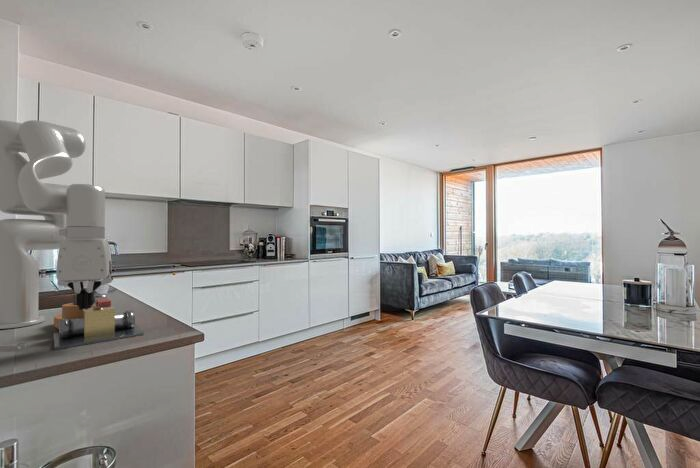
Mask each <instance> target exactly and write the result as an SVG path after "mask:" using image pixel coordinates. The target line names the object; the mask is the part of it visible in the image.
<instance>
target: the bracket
mask: <svg viewBox="0 0 700 468" xmlns="http://www.w3.org/2000/svg"><path fill="white" fill-rule="evenodd" d="M91 307H93V305H91ZM64 318H69V319H77V318H83V309H82V310H79V306H77V304H75V305H74V302H70V303H65V304H62V305H61V313H59V314H57V315H53V327H54V328H56V329H58V330H59V321H60V319H64Z"/></svg>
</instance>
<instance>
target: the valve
mask: <svg viewBox="0 0 700 468" xmlns="http://www.w3.org/2000/svg"><path fill="white" fill-rule="evenodd" d="M144 332H145V331H143V330H142V329H141V328H140V327H139V326H138V325H137V324H136V315H135V312H134V310H133V309H129V310H125V311H124V312H117V313H116V308H115V307H114V306H113V305H112V304H111V307H105V308H97V306H96V303H95V302H94V304H93V307H91V308H89V309H83V318H77V319H69V318H64V319H60V321H59V329H58V332H53V344H54V345H53V347H54V351H55V350H56V351H57V350H62V349H67V348H73V347H80V346H85V345H92V344H97V343H98V344H99V343H104V342H108V341H114V340H119V339H120V340H121V339H127V338H133V337H138V336H139V337H140V336H144V335H145V334H144Z"/></svg>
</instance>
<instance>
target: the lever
mask: <svg viewBox="0 0 700 468" xmlns="http://www.w3.org/2000/svg"><path fill="white" fill-rule="evenodd" d="M94 302H95V303H96V306H97V308H105V307H111V305H112V300H111V299H110V298H109V297H108V294H107V293H97V294H94Z"/></svg>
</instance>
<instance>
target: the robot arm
mask: <svg viewBox="0 0 700 468" xmlns="http://www.w3.org/2000/svg"><path fill="white" fill-rule="evenodd" d="M86 148H87V147H86V140H85V137H84V136H83V135H82V133H81V132H79V131H78V130H76V129H74V128H73V127H72V128H71V127H67V126H64V125H59V124H56V123H52V122H47V121H43V120H37V119H36V120H33V119H32V120H31V119H30V120H27V121H24V122H23V123H21V122H17V121H11V120H2V119H1V120H0V211H1V213H4V214H8V215H18V216H19V215H21V216H37V217H38V216H39V217H43V218H44V219H31V218H29V219H28V218H4V219H0V330H4V329H5V330H6V329H15V328H21V327H28V326H32V325H37V324H40V323H42V322H44V321H45V320H46V317H45V315H39V291H40V290H39V286H40V285H39V282H40V281H39V279H40V278H39V276H40V274H39V273H40V269H39V267H40V265H39V262H38V261H37V260H36V259H35V257H34V256H32V255H31V254H30V252H29V251H46V250H47V251H49V250H58V253H57V260H56V274H55V275H56V280H58V281H57V285H58V286H62V287H67V288H69V289H71V290H72V291H74V293H75V294H76V305H77V306H79V310H82V309H89V308H91V305H93V304H94V295H95V291H96V290H97V289H98V288H99V287H101V286H104V285H107V284H111V283H113V280H112V279H113V278H112V276H111V275H112V273H113V272H112V270H113V269H112V268H113V267H112V255H111V248H110V244H109V240H108V239H106V228H105V227H106V192H105V189H104V188H103V187H102V186H99V185H95V184H89V183H88V184H87V183H72V184H70V185H66V184H56V183H50V182H49V183H48V182H42V181H41V180H45V179H48V178H54V177H58V176H62V175H63V174H66V173H67V172H69V171H70V170H71V169H72V167H73V160H72V159H76V158H79V157H81V156H82V155H83V154H84V153H85V151H86ZM21 153H23V154H27V157H28V159H29V161H28V159H26V158H25V157H24V156H23V155H22V154H21ZM84 282H87V286H86V288H85V284H84Z"/></svg>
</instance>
